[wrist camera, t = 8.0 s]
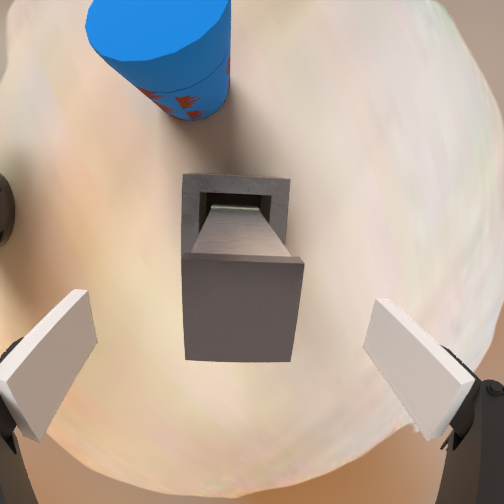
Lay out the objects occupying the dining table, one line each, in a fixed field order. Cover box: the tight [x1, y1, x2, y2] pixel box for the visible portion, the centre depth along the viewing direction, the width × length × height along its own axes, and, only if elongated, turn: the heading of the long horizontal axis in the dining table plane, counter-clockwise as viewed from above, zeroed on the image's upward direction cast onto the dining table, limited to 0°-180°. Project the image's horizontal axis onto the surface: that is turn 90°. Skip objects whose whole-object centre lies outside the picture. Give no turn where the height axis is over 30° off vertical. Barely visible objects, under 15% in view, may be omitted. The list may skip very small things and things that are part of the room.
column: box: [182, 204, 304, 362], centre depth 24 cm, size 5×6×22 cm
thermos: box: [85, 0, 231, 121], centre depth 25 cm, size 11×11×25 cm
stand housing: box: [181, 173, 290, 274], centre depth 37 cm, size 12×12×11 cm
